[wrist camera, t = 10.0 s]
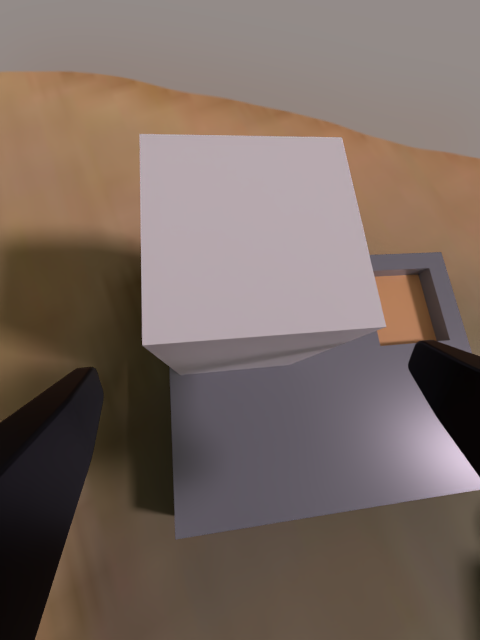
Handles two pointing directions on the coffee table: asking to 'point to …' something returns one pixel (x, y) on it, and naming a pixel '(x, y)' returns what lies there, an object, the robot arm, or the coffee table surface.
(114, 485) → the coffee table surface
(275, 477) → the socket plate
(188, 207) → the pale grey block
